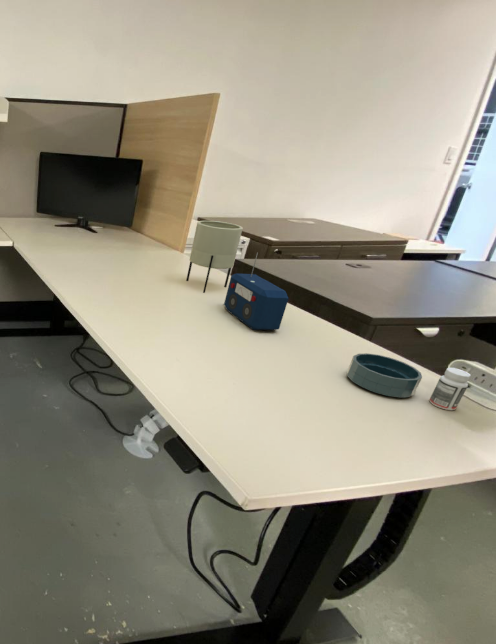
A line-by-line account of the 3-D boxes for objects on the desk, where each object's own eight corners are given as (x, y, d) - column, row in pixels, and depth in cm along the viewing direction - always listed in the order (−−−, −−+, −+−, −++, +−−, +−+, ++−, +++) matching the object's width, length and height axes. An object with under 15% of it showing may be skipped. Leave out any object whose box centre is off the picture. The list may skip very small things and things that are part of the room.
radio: (219, 307, 153) (234, 247, 145) (244, 307, 154) (260, 248, 146) (252, 332, 135) (271, 265, 126) (280, 333, 136) (301, 266, 127)
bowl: (427, 397, 105) (436, 378, 103) (380, 401, 102) (389, 381, 100) (376, 370, 117) (384, 352, 115) (333, 372, 114) (340, 354, 112)
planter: (236, 293, 168) (253, 229, 159) (195, 293, 166) (210, 228, 156) (215, 281, 182) (230, 221, 172) (177, 280, 179) (190, 219, 170)
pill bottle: (447, 401, 105) (463, 368, 101) (460, 412, 100) (478, 378, 97) (423, 397, 105) (439, 365, 102) (436, 409, 101) (453, 375, 98)
